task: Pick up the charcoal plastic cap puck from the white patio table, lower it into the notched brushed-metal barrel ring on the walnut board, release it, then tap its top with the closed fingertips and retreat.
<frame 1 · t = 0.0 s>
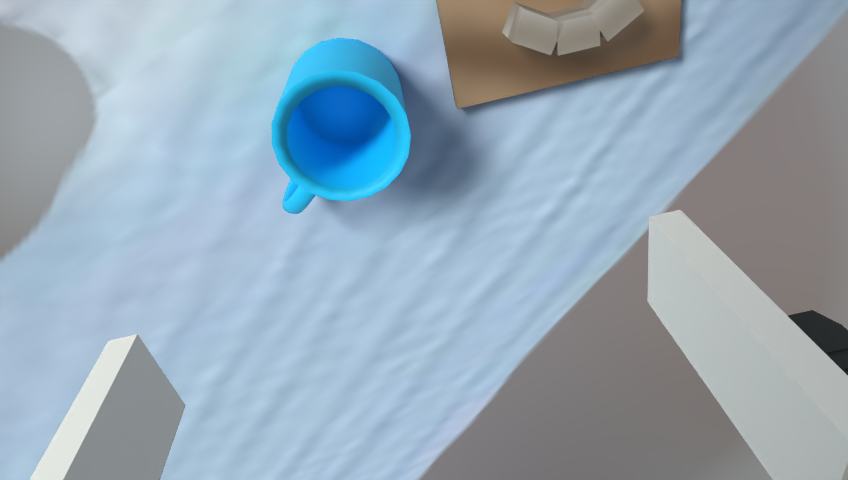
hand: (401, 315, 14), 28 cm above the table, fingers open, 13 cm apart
mug: (332, 118, 40), on the table
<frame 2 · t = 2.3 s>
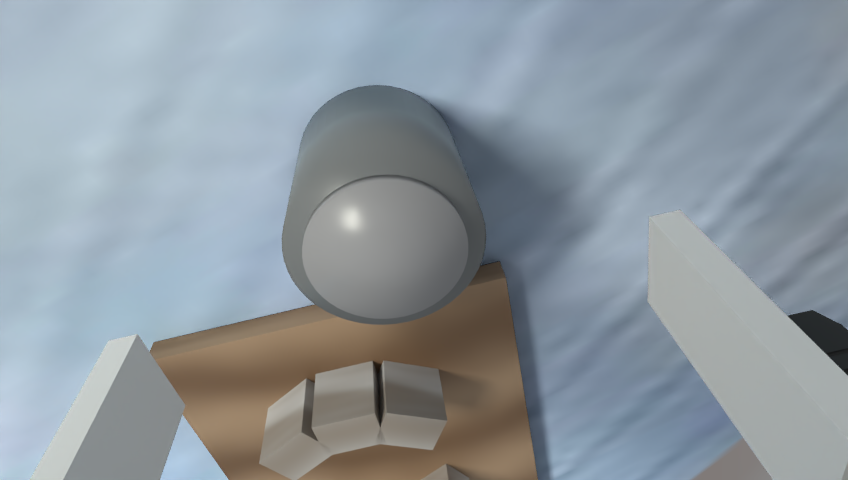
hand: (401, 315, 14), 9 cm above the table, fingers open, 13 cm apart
cap: (378, 162, 21), on the table
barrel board: (376, 426, 30), on the table
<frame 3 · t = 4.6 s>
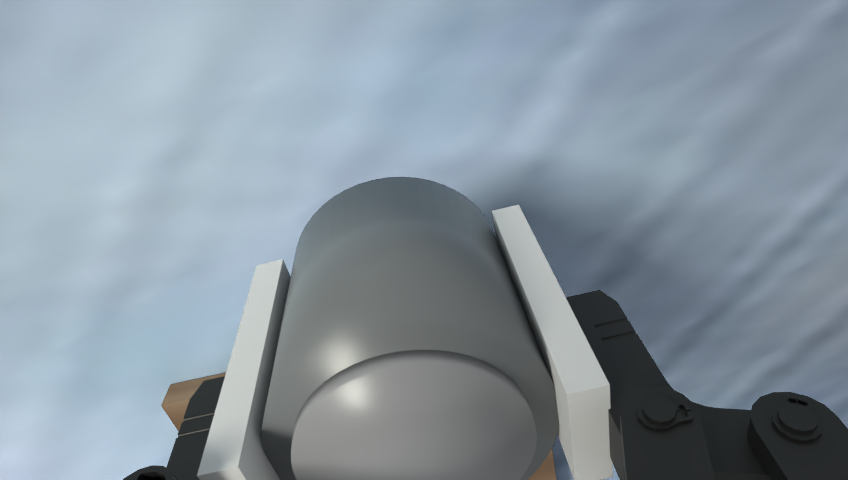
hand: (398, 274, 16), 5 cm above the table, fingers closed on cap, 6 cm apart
cap: (398, 269, 16), point 5 cm above the table, touching gripper
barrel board: (395, 473, 28), on the table
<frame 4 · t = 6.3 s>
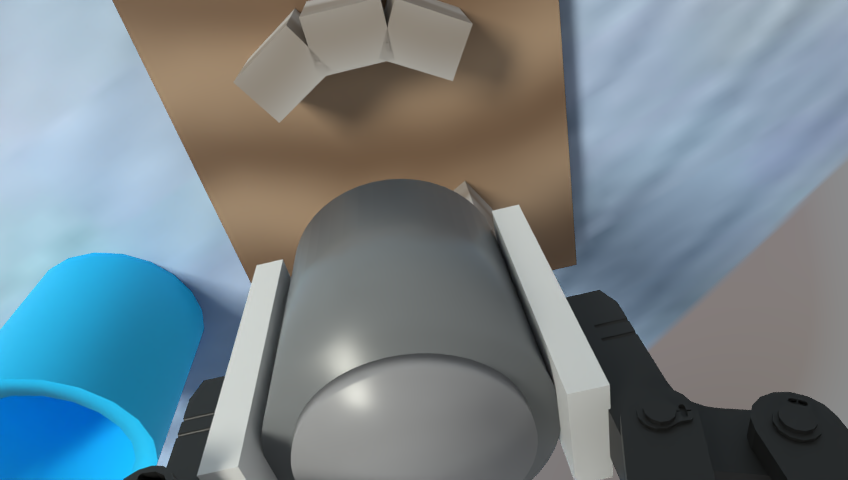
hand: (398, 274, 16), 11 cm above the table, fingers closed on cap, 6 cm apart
cap: (398, 271, 16), point 10 cm above the table, touching gripper
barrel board: (381, 130, 24), on the table
mug: (111, 338, 30), on the table
when the fingers open (2 cm above the table, at t = 7.8 s): cap stays where it is, resting on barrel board.
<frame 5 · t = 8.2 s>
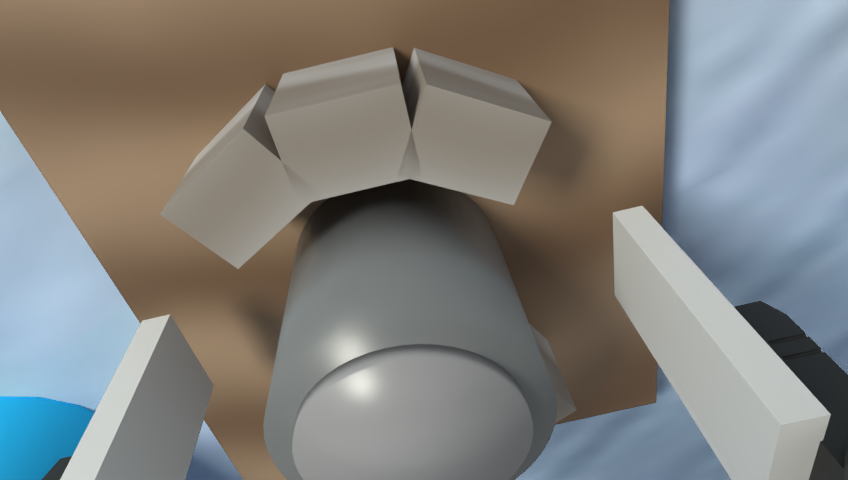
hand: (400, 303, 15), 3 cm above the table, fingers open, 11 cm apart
cap: (398, 265, 16), point 1 cm above the table, touching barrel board
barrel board: (394, 239, 17), on the table
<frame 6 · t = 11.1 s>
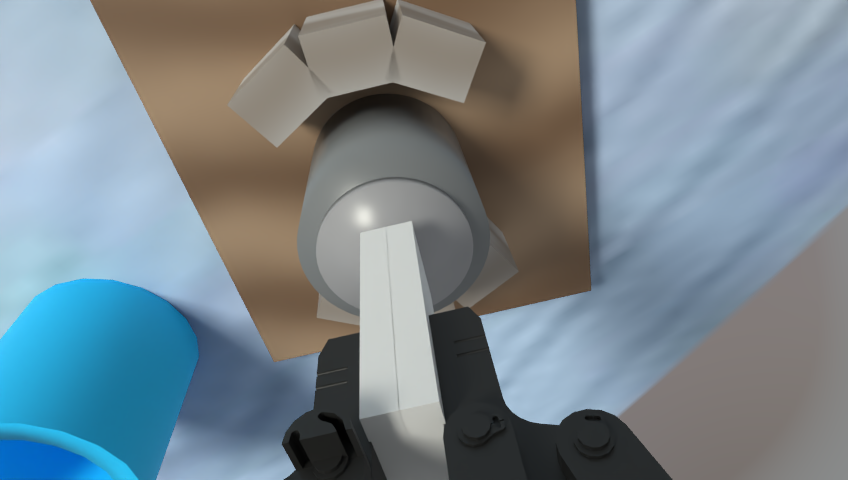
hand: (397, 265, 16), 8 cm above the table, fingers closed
cap: (387, 166, 22), point 1 cm above the table, touching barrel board
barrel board: (385, 151, 23), on the table
mug: (102, 365, 28), on the table
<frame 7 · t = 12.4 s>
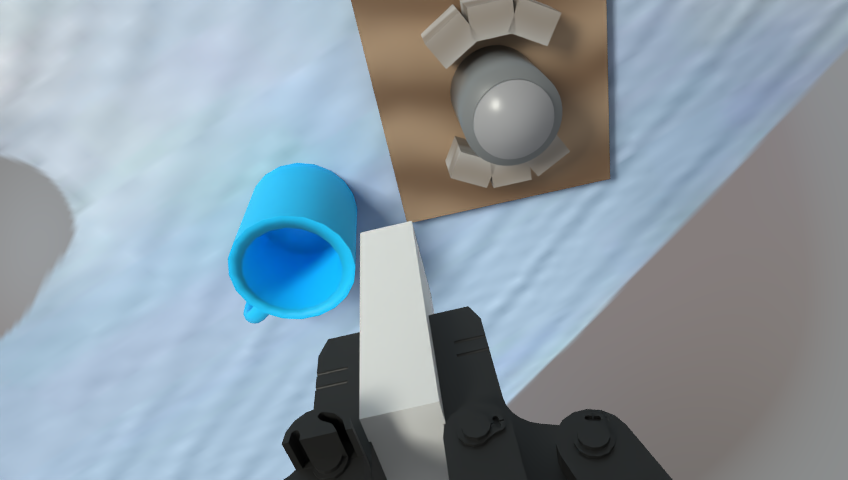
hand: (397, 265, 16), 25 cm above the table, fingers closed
cap: (493, 90, 38), point 1 cm above the table, touching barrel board
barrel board: (489, 83, 39), on the table
mug: (293, 228, 44), on the table
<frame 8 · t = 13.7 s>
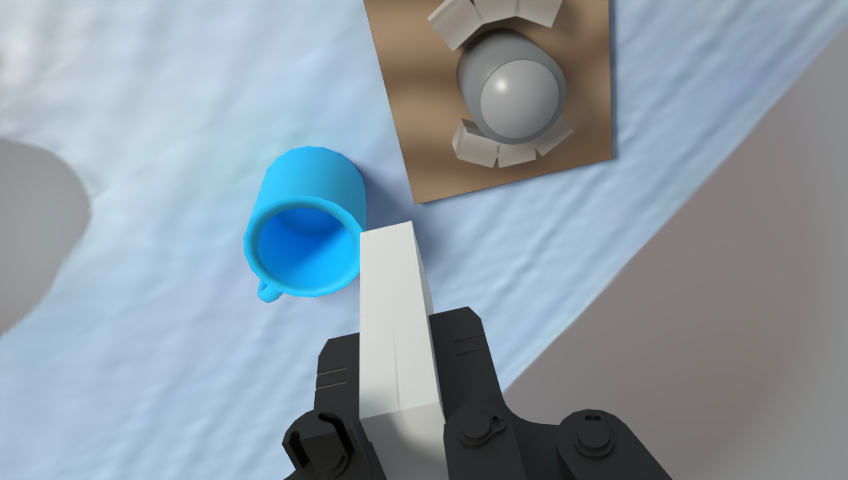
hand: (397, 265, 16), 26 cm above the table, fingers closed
cap: (498, 72, 39), point 1 cm above the table, touching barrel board
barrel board: (494, 65, 40), on the table
mug: (303, 210, 45), on the table
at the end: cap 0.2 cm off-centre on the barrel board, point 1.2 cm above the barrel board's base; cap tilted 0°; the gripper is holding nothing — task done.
